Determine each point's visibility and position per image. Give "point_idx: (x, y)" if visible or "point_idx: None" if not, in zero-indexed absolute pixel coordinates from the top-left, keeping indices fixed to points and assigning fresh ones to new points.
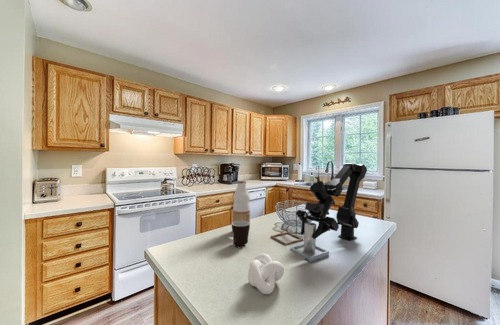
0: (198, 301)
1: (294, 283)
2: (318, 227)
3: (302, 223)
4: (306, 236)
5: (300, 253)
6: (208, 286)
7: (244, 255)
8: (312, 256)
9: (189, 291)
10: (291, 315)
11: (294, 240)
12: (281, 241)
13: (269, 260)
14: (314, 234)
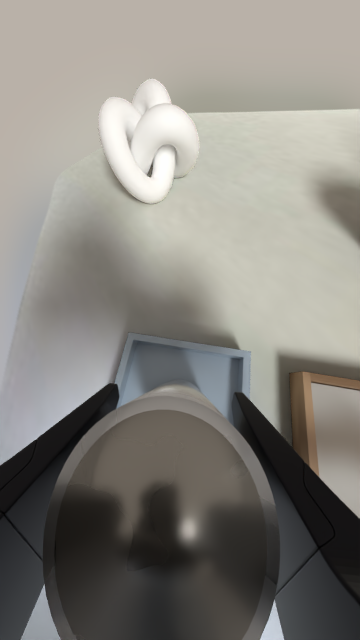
0: (197, 117)
1: (112, 227)
2: (4, 488)
3: (334, 504)
4: (176, 383)
5: (182, 341)
6: (223, 133)
7: (307, 225)
8: (126, 349)
9: (228, 116)
10: (72, 172)
11: (317, 458)
12: (337, 377)
13: (140, 119)
14: (97, 402)
